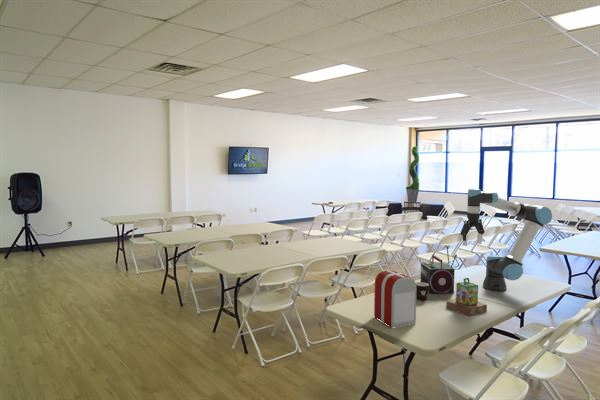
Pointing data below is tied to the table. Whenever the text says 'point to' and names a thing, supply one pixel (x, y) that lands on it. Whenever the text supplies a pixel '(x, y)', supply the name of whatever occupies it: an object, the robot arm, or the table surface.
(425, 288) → the coffee mug
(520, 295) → the table surface
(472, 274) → the table surface
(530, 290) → the table surface
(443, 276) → the boombox
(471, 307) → the walnut base
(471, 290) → the chalk box
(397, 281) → the red white striped case
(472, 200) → the robot arm
